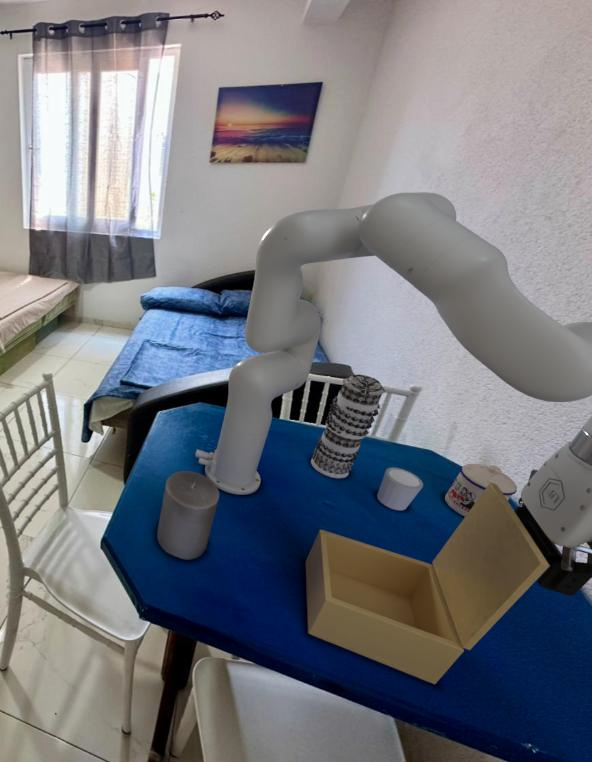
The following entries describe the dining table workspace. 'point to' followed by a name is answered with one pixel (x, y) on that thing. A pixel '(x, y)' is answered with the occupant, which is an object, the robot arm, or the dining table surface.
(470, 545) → the lid
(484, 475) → the teacup with lid
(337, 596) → the hinged wooden box
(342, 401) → the white patterned cylinder
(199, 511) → the pillar candle
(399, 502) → the white short cylinder
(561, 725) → the dining table surface
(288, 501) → the dining table surface
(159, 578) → the dining table surface
